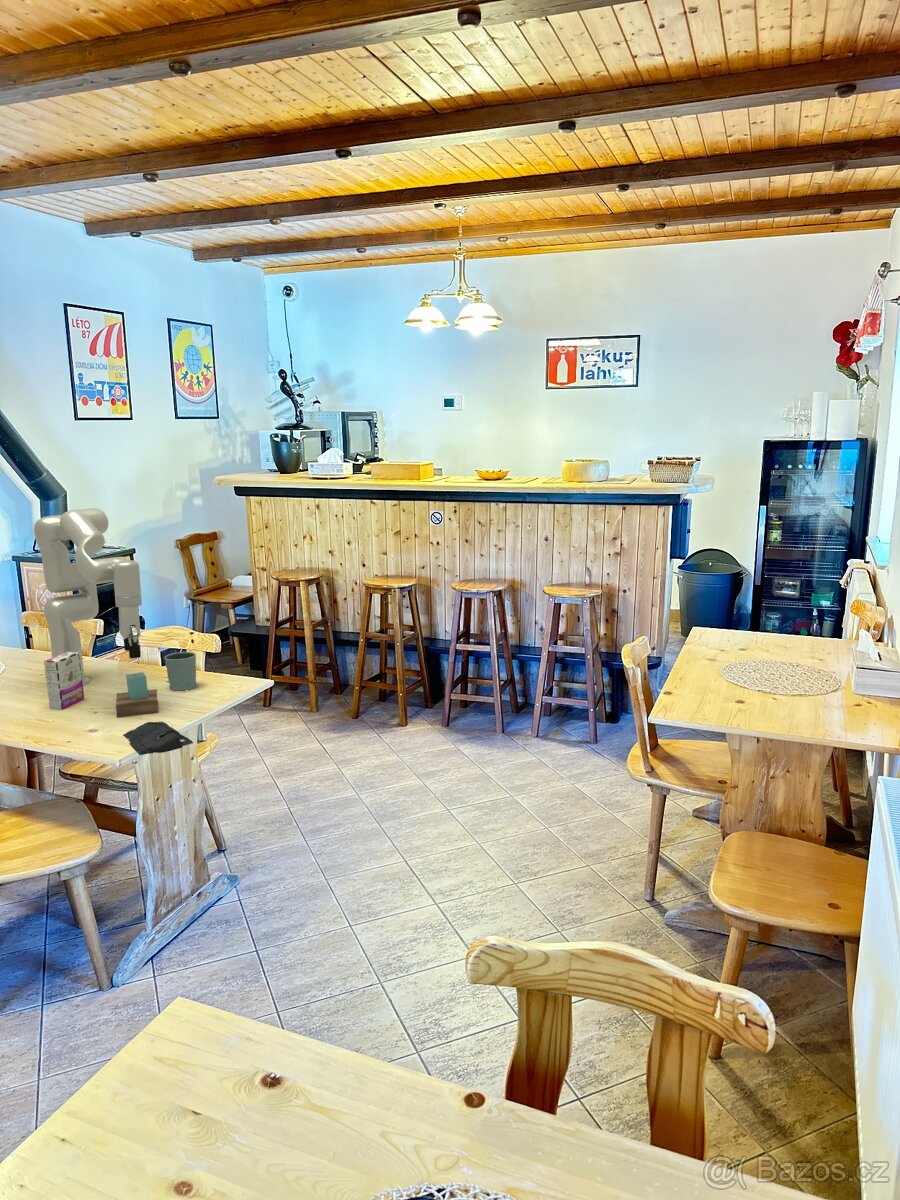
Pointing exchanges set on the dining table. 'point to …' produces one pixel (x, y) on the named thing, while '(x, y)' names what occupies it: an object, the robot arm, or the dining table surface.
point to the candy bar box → (64, 680)
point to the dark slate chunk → (155, 738)
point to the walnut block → (136, 704)
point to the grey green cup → (181, 670)
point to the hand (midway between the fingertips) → (132, 653)
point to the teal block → (137, 686)
